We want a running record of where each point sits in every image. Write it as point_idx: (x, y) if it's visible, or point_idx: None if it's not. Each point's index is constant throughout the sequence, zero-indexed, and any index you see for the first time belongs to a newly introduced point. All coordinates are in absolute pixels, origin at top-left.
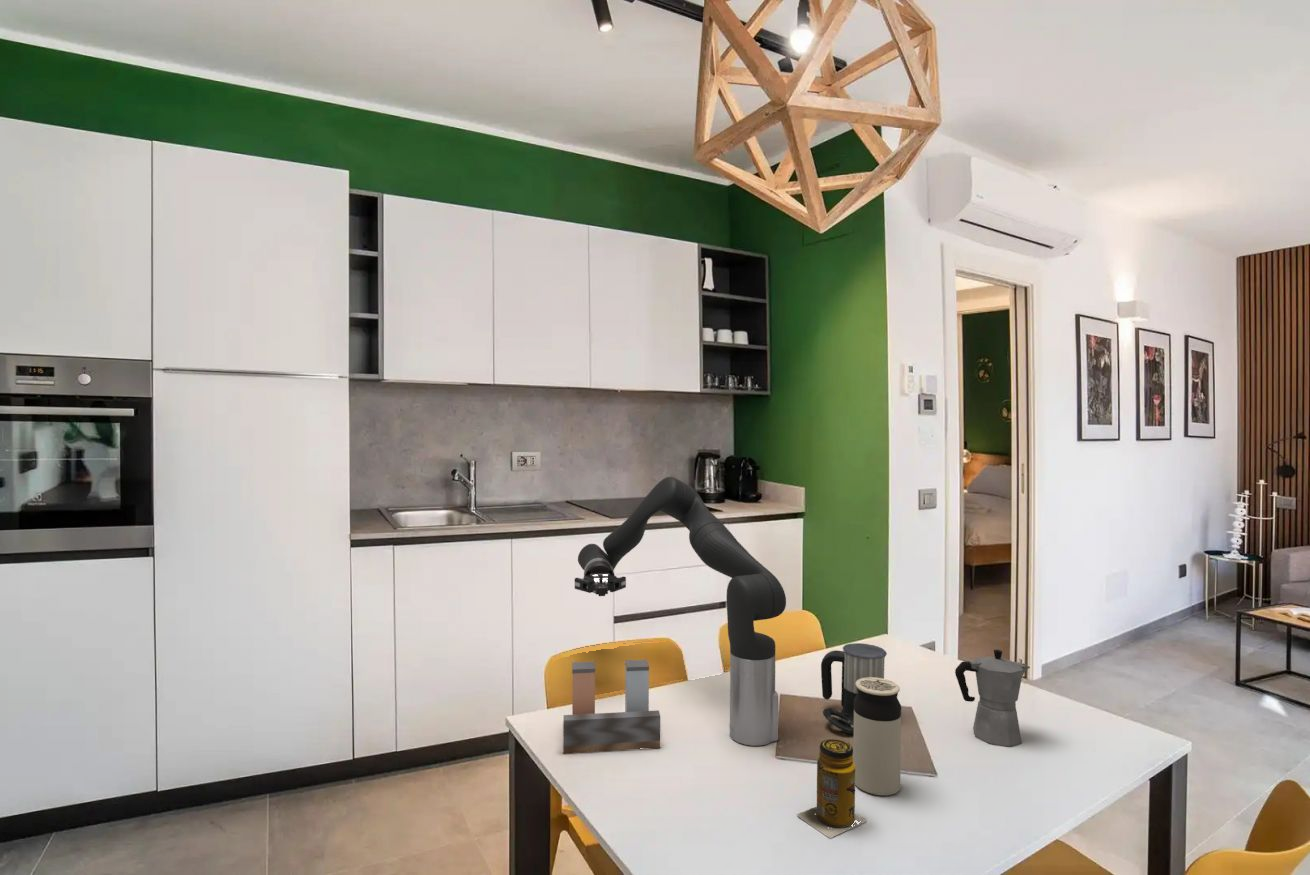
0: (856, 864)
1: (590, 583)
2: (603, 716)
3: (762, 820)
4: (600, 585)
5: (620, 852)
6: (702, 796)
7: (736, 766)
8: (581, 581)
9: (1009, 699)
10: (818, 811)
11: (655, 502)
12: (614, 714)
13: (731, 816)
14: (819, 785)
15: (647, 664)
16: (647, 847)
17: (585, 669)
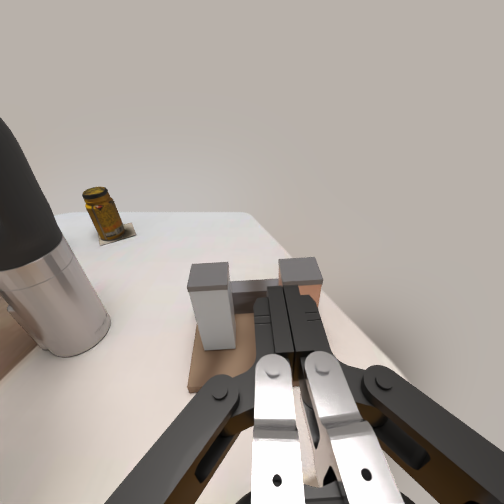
0: (133, 212)
1: (370, 370)
2: (265, 283)
3: (160, 233)
4: (292, 306)
5: (251, 217)
6: (188, 250)
7: (139, 281)
8: (472, 435)
9: None
10: (123, 228)
11: None
12: (251, 287)
13: (177, 235)
14: (117, 213)
15: (192, 270)
16: (236, 219)
17: (293, 258)
